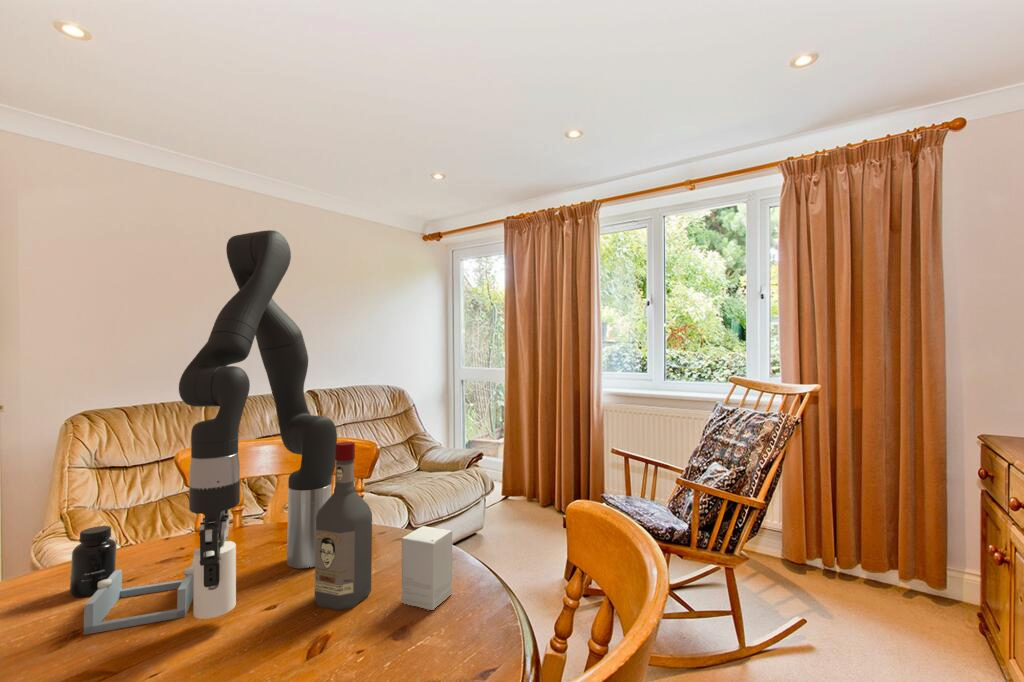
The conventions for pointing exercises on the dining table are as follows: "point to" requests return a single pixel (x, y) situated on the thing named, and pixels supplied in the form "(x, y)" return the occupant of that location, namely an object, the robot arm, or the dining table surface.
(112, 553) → the supplement bottle
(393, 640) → the dining table surface
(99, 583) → the holder
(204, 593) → the candle
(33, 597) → the dining table surface
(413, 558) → the supplement box
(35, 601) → the dining table surface
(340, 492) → the liquor
